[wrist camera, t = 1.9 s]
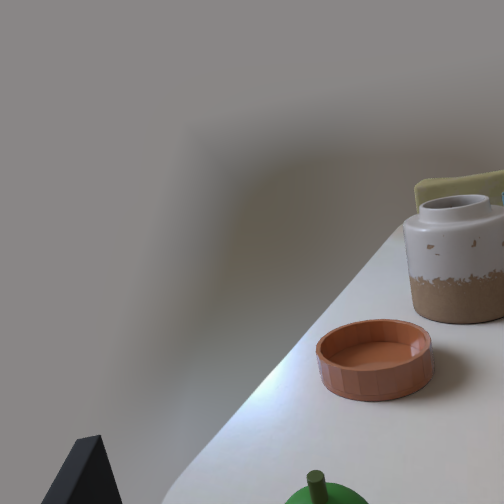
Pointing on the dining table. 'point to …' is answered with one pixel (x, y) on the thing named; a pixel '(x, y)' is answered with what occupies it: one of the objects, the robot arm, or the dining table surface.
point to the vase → (457, 259)
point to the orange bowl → (375, 359)
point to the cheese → (462, 187)
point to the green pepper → (324, 492)
